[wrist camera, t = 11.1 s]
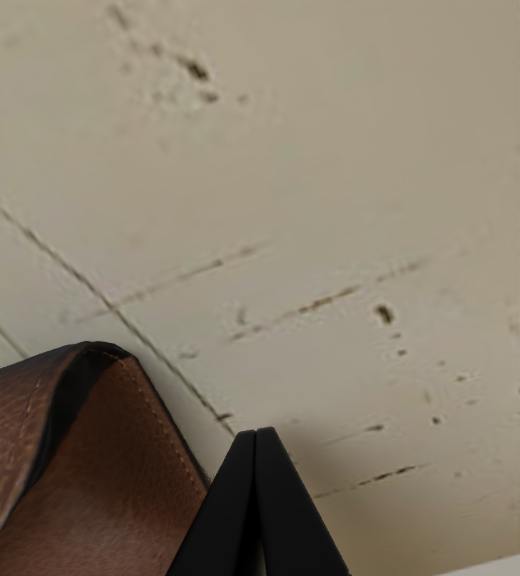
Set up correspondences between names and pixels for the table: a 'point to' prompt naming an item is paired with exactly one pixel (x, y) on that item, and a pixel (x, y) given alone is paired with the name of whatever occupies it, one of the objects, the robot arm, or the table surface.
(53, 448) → the sunglasses case
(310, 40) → the table surface
